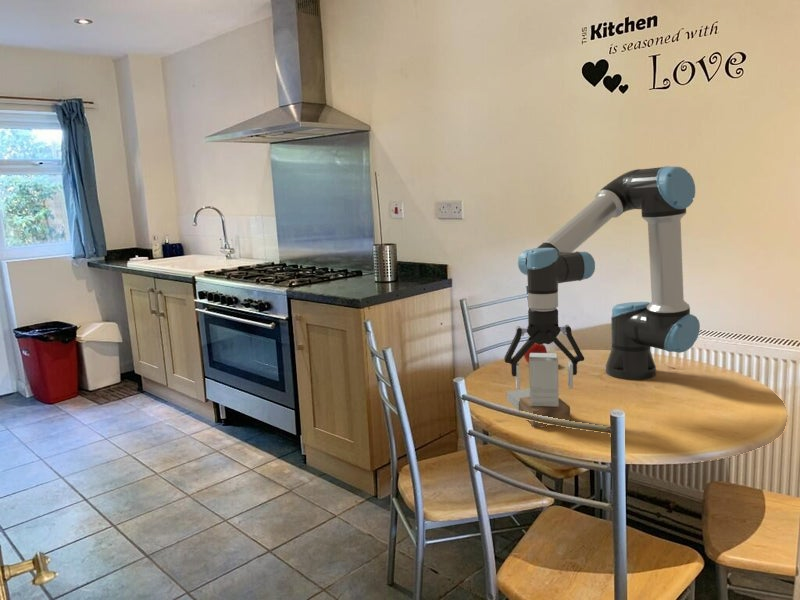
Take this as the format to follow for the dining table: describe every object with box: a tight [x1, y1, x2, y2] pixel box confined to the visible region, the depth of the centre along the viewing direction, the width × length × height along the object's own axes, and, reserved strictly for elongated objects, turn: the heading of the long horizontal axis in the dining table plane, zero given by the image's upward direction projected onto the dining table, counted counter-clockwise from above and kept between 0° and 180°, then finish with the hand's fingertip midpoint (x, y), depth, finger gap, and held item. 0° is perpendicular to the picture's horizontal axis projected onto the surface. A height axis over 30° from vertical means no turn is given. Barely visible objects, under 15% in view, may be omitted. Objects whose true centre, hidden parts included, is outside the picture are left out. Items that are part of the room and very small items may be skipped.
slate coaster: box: [506, 388, 530, 411], centre depth 164 cm, size 9×9×3 cm
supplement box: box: [528, 352, 560, 407], centre depth 150 cm, size 7×7×13 cm
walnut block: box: [519, 397, 571, 428], centre depth 152 cm, size 10×10×5 cm
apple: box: [523, 343, 548, 364], centre depth 200 cm, size 8×8×10 cm
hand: (544, 387), depth 151 cm, fingers open, 13 cm apart
